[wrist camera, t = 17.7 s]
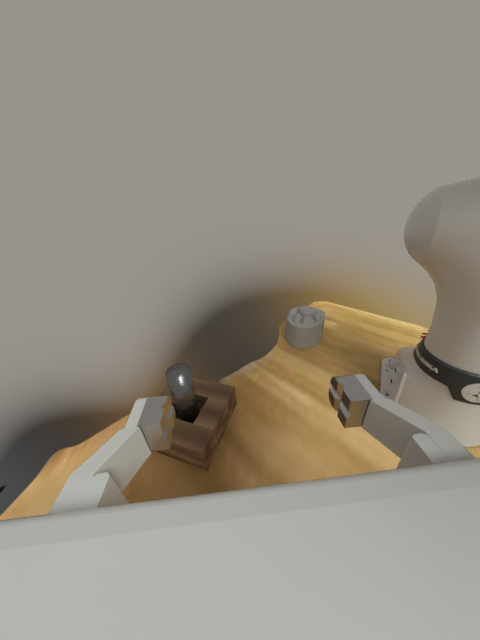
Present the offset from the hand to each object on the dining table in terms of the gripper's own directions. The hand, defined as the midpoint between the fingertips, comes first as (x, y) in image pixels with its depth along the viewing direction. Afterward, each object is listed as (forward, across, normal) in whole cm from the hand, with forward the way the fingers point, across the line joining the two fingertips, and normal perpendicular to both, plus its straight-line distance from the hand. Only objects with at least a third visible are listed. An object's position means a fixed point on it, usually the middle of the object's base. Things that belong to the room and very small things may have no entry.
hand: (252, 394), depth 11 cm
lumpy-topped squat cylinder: (+48, -21, +30) cm, 60 cm away
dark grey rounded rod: (+21, +11, +29) cm, 38 cm away
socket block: (+22, +11, +30) cm, 38 cm away
